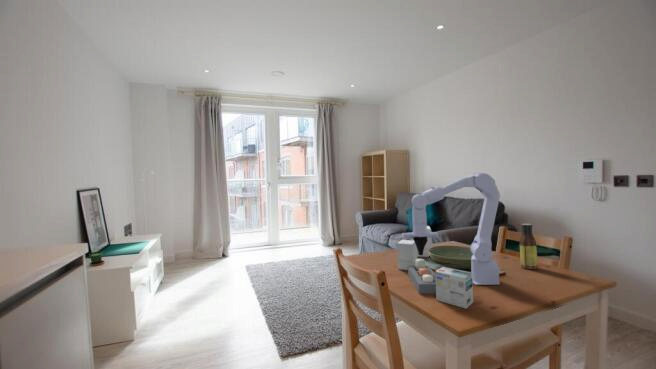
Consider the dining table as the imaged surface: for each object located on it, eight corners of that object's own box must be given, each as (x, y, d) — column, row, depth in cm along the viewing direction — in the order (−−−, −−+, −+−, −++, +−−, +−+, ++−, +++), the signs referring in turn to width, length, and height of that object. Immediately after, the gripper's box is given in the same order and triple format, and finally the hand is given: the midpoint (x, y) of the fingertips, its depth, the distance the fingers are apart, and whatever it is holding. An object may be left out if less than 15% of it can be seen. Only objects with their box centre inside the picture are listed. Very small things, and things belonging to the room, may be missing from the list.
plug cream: (431, 285, 116) (431, 274, 116) (434, 289, 112) (433, 277, 112) (421, 285, 116) (421, 274, 116) (424, 289, 112) (423, 278, 112)
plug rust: (427, 278, 122) (427, 267, 122) (430, 282, 118) (429, 270, 118) (418, 278, 122) (417, 267, 122) (420, 282, 118) (420, 271, 118)
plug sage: (423, 269, 128) (423, 258, 128) (426, 272, 124) (425, 261, 124) (414, 269, 128) (414, 258, 128) (416, 272, 124) (416, 261, 124)
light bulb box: (474, 302, 101) (473, 272, 101) (466, 309, 96) (465, 277, 96) (443, 294, 109) (442, 265, 108) (435, 300, 104) (434, 270, 104)
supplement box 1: (417, 266, 140) (417, 240, 139) (413, 271, 134) (412, 244, 133) (402, 264, 144) (401, 239, 143) (397, 269, 138) (396, 242, 137)
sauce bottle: (539, 268, 131) (539, 224, 130) (533, 271, 127) (533, 226, 126) (523, 264, 136) (523, 222, 135) (517, 267, 133) (516, 224, 132)
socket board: (428, 273, 130) (428, 265, 130) (443, 293, 109) (443, 283, 109) (407, 273, 131) (407, 265, 131) (418, 293, 110) (418, 284, 110)
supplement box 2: (430, 252, 162) (429, 225, 161) (432, 257, 153) (431, 229, 153) (413, 252, 164) (412, 225, 164) (414, 256, 156) (413, 228, 155)
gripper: (404, 225, 120) (405, 257, 121) (440, 224, 119) (440, 256, 120) (400, 222, 127) (401, 252, 128) (434, 221, 126) (435, 252, 127)
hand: (420, 254), depth 124 cm, fingers closed
